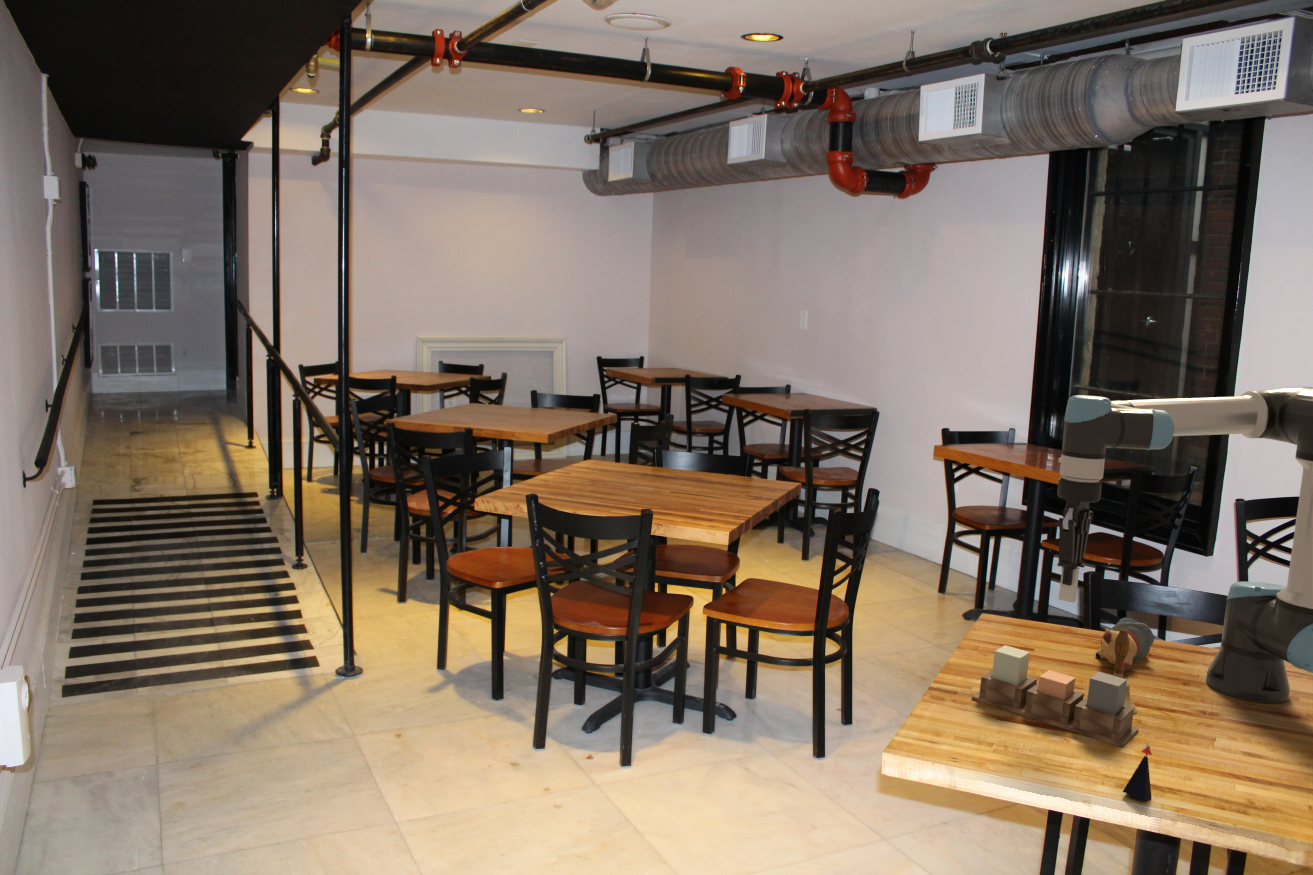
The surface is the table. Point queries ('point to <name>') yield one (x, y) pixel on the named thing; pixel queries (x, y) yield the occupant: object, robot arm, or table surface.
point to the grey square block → (1106, 693)
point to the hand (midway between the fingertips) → (1067, 600)
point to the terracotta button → (1056, 685)
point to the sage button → (1010, 665)
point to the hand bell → (1122, 662)
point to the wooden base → (1058, 710)
